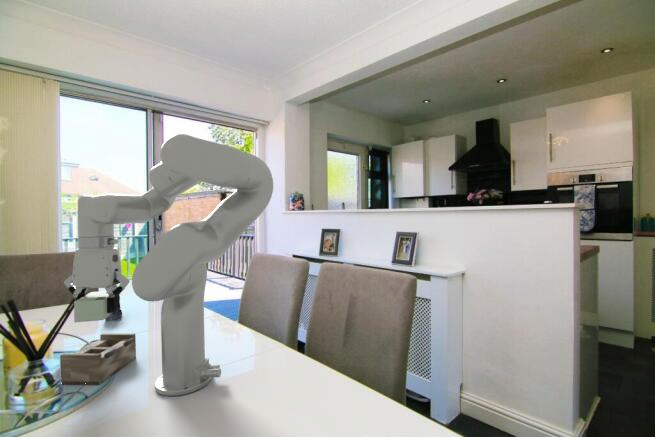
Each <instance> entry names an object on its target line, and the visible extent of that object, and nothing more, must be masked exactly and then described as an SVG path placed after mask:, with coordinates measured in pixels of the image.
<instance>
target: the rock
mask: <svg viewBox="0 0 655 437" xmlns="http://www.w3.org/2000/svg"><path fill="white" fill-rule="evenodd" d="M120 295H121V294H120ZM120 295H118V309H117V310H116V311H114V312H112V313H111V314H110V315H109V316H108V317H106V318H105V319H104V320H105V321H115V320H116V321H117V320H118V319H121V318H122V316H123V311H122V309H121V302H120V300H121V296H120Z"/></svg>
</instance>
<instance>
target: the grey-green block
mask: <svg viewBox="0 0 655 437" xmlns="http://www.w3.org/2000/svg"><path fill="white" fill-rule="evenodd" d="M107 298H109V295H108V293H107V291H106V290H102V291H91V292H89V293H87V294H85V296H84V297H82V298H80V299H78V300H77V301H76V300H75V301H73V311H74V312H73V313H74V316H73V317H74V320H73V321H74V323H85V322H96V321H98V322H99V321H104V320H105V318H106V317H108V316H109V315H110V314H111V313H107Z"/></svg>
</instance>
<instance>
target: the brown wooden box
mask: <svg viewBox="0 0 655 437" xmlns="http://www.w3.org/2000/svg"><path fill="white" fill-rule="evenodd" d="M136 344H137V343H136V333H101V334H100V339H98V340H96V341H95V342H92V343H90V344H88V345H86V346H85V347H82V348H80V349H79V350H77V351H75V352H73V353H65V352H64V353H62V354H60V356H59V362H60V363H59V364H60V365H59V366H60V383H61V382H62V385H63V386H99V385H101V384H103V383H104V382H106V381H107V380H108V379H110V378H111V377H112V376H114V375H115V374H117V373H118V372H119V371H121V370H122V369H123V368H125V367H126V366H128V365H129V364H131V363H132V362H133V361H135V360H136V359H137V352H136V350H137V345H136ZM110 376H111V377H110ZM109 377H110V378H109ZM85 383H86V384H85ZM62 385H61V386H62Z"/></svg>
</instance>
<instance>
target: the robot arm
mask: <svg viewBox="0 0 655 437" xmlns="http://www.w3.org/2000/svg"><path fill="white" fill-rule="evenodd" d="M159 154H160V155H159V156H160V157H159V158H160V162H159V163H158V164H156V165H155V166H154V165H153V167H151V168H150V170H149V172H148V178H149V182H150V184H151V186H152V188H151V189H148V190H147V191H146V192H143V193H141V194H138V195H137V194H136V195H135V194H126V193H125V194H123V193H122V194H121V193H105V194H100V195H99V194H97V195H96V194H95V195H94V194H91V195H90V194H89V195H88V194H86V195H80V196H79V198H77V249H75V252H74V256H73V264H72V274H71V275H70V276H68V277H67V278H65V280H64V281H63V284H64V285H65V287H66V288H67V289H68V291H69V292H70V293H71V294H72V297H73V298H75V301H77V300H78V299H80V298H82V297H84V296H85V295H86V293H87V291H88V289H105V291H107V293H108V295H109V298H107V313H112V312H114V311H116V310H117V309H118V295H121V293H122V292H123V291H124V290H125V289H126V287H127V286H128V285H129V283H130V280H129V278H127V277H126V276H124V275H123V274H122V273H123V272H122V271H123V270H122V262H121V257H120V252H119V249H118V247H115V245H117V244H119V239H118V238H115V234H114V233H115V229H114V228H115V225H126V224H127V225H128V224H142V223H146V222H149V221H151V220H153V219H155V218H157V217H159V216H161V215H163V214H164V213H165V212H167V211H168V210H169V209H171V207H172V205H173V204H174V203H175V201H176V198H177V197H178V196H180V195H182V194H183V193H185V192H186V191H188V190H190V189H191V188H193V187H194V186H196V185H197V186H198V184H200V183H202V182H203V183H206V184H210V185H214V186H216V187H221V188H225V189H232V190H234V191H233V193H232V194H230V195H229V196H227V197H226V198H225V199H223V200H222V201H221V202H220V203H219V204H217V206H216V207H215V208H214V209H213V211H212V212H210V213H209V214H208V215H207V217H205V218H204V219H202V220H198V221H189V222H183V223H178V224H176V225H174V226H173V227H171V228H170V229H168V230H167V231H166V232H165V233H164V234H163V235H162V236H161V237H160V238H159V239H158V241H157V242H156V243H155V244H154V245H153V246H152V247H151V248H150V249H149V250H148V252H147V253H146V254H145V255H144V256H143V257H142V259H141V260H140V261H139V262H138V263H137V265H136V267H134V271H133V273H132V277H131V285H132V290H133V292H134V294H135V295H136V296H137V297H138V298H140V299H142V300H143V301H145V302H154V303H155V302H159V301H162V304H161V308H160V310H161V311H160V327H161V328H160V331H161V332H160V334H161V335H160V336H161V337H160V338H161V339H160V340H161V375H160V376H159V377H158V378H156V380H155V383H154V390H155V391H156V393H158V394H160V395H162V396H168V397H170V396H171V397H174V396H175V397H176V396H183V395H188V394H190V393H193V392H196V391H199V390H200V389H203V387H205V386H207V384H208V383H210V382H211V380H212V378H221V374H222V370H221V366H220V364H211V363H210V358H209V357H208V358H206V350H205V349H206V348H205V346H206V345H205V343H206V342H205V293H206V292H205V291H206V284H207V277H208V268H207V267H208V266H207V264H208V263H211V262H214V261H217V260H218V259H221V257H223V256H224V255H225V254H226V253H227V252H228V250H229V249H230V248H232V246H233V245H234V244H235V243H236V242H237V241H238V240H239V239H240V238H241V236H242V235H243V234H245V232H246V231H247V230H248V229H249V227H250V226H251V225H253V223H254V222H255V221H256V220H257V219H258V218H259V217H260V216H261V215H262V214H263V212H264V211H265V210H266V208H267V207H268V205H269V204H270V202H271V199H272V197H273V192H274V179H273V175H272V172H271V169H270V168H269V166H268V165H267V163H265V161H264V160H262V159H261V158H259V157H258V156H256V155H255V154H252V153H248V152H246V151H244V150H241V149H238V148H236V147H232V146H229V145H226V144H223V143H218V142H213V141H211V140H206V139H203V138H200V137H199V138H198V137H196V136H191V135H190V134H186V133H183V134H182V133H178V134H174V135H172V136H169V138H167V139H166V140H165V141H164V142H163V144H162V145H161V148H160V151H159Z"/></svg>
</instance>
